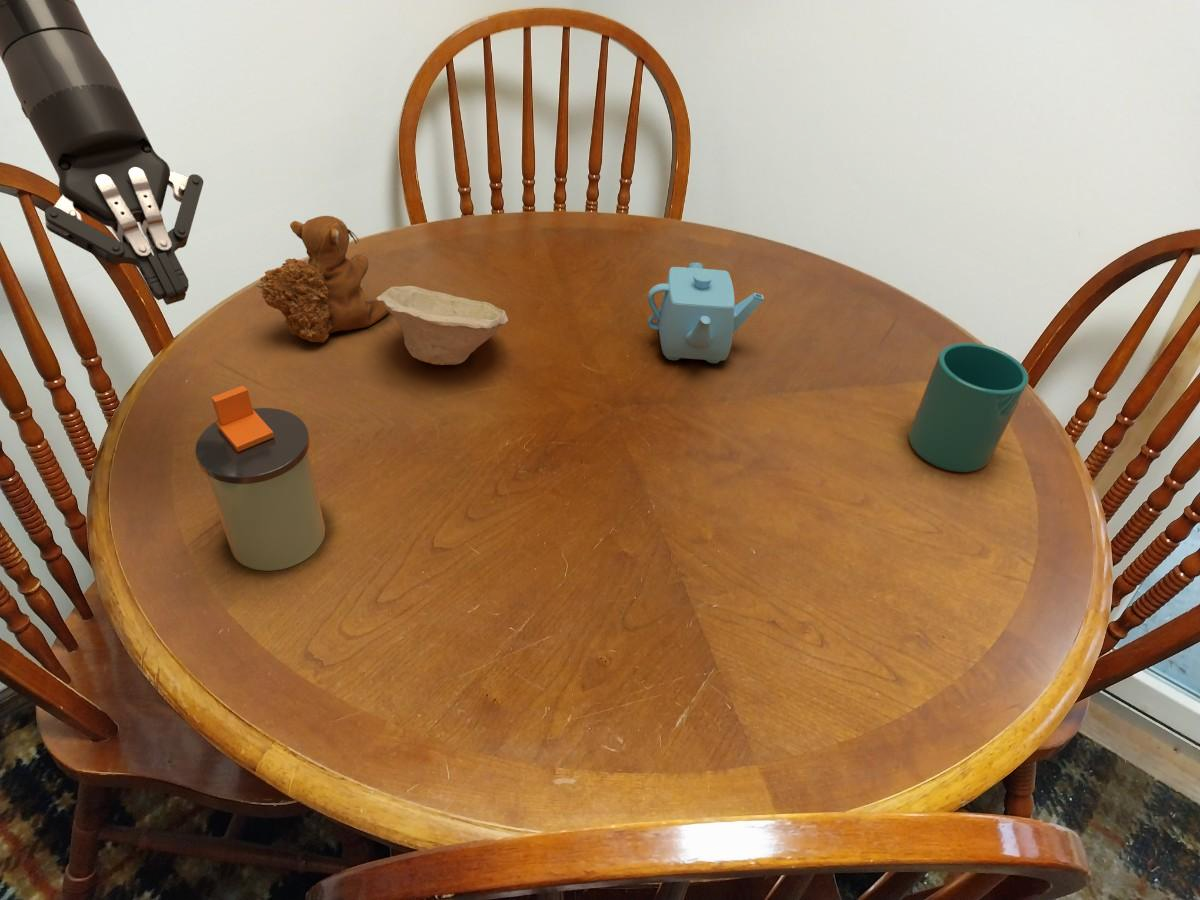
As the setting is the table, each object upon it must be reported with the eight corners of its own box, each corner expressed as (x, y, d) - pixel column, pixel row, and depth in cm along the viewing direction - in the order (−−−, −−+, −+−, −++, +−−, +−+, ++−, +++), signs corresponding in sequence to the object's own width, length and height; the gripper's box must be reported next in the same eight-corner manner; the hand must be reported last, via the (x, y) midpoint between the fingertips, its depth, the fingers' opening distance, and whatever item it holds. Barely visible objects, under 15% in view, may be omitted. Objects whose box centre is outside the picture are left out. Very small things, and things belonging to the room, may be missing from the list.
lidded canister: (210, 530, 79) (176, 433, 71) (300, 489, 84) (278, 394, 76) (253, 589, 74) (222, 492, 66) (346, 542, 79) (327, 446, 71)
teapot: (642, 305, 114) (649, 236, 107) (745, 313, 114) (759, 245, 108) (642, 385, 100) (651, 312, 94) (760, 394, 101) (777, 321, 94)
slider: (217, 427, 72) (208, 398, 70) (253, 413, 74) (245, 384, 72) (237, 452, 70) (229, 422, 68) (274, 437, 72) (267, 407, 69)
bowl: (529, 344, 105) (530, 272, 99) (470, 405, 96) (466, 330, 89) (427, 311, 110) (421, 240, 103) (360, 365, 100) (349, 291, 93)
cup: (973, 411, 101) (1009, 332, 93) (998, 479, 92) (1040, 397, 84) (896, 403, 101) (926, 323, 94) (914, 469, 92) (948, 387, 85)
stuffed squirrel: (396, 310, 109) (386, 214, 101) (322, 364, 99) (303, 264, 91) (334, 288, 112) (319, 194, 104) (257, 338, 102) (233, 239, 94)
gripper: (-19, 97, 63) (93, 311, 64) (163, 68, 70) (260, 261, 71) (-10, 144, 69) (92, 338, 71) (156, 113, 76) (245, 290, 78)
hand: (176, 299), depth 71 cm, fingers closed
